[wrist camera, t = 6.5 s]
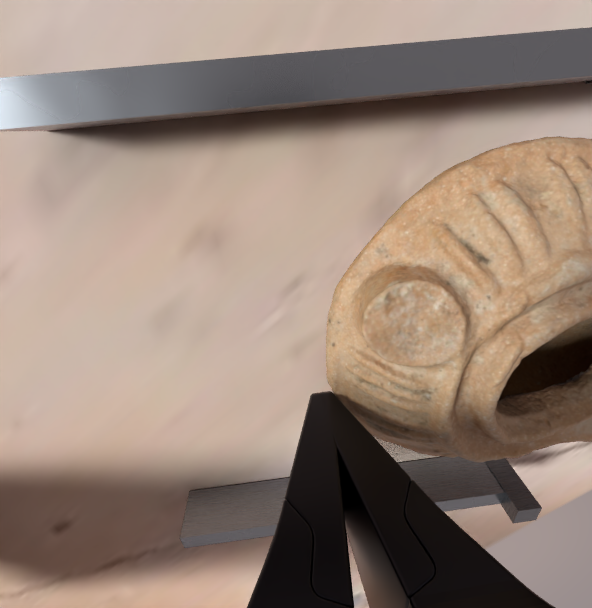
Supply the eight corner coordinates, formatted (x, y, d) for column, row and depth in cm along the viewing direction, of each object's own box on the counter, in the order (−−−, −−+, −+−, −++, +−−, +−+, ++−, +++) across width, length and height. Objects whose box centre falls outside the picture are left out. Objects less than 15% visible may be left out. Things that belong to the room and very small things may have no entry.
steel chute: (193, 501, 16) (180, 570, 13) (27, 90, 8) (-87, 70, 5) (494, 460, 16) (535, 519, 14) (635, 37, 8) (795, -3, 6)
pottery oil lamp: (534, 433, 15) (573, 635, 9) (328, 272, 14) (249, 386, 9) (838, 335, 9) (1377, 712, 4) (505, 60, 9) (568, 40, 3)
